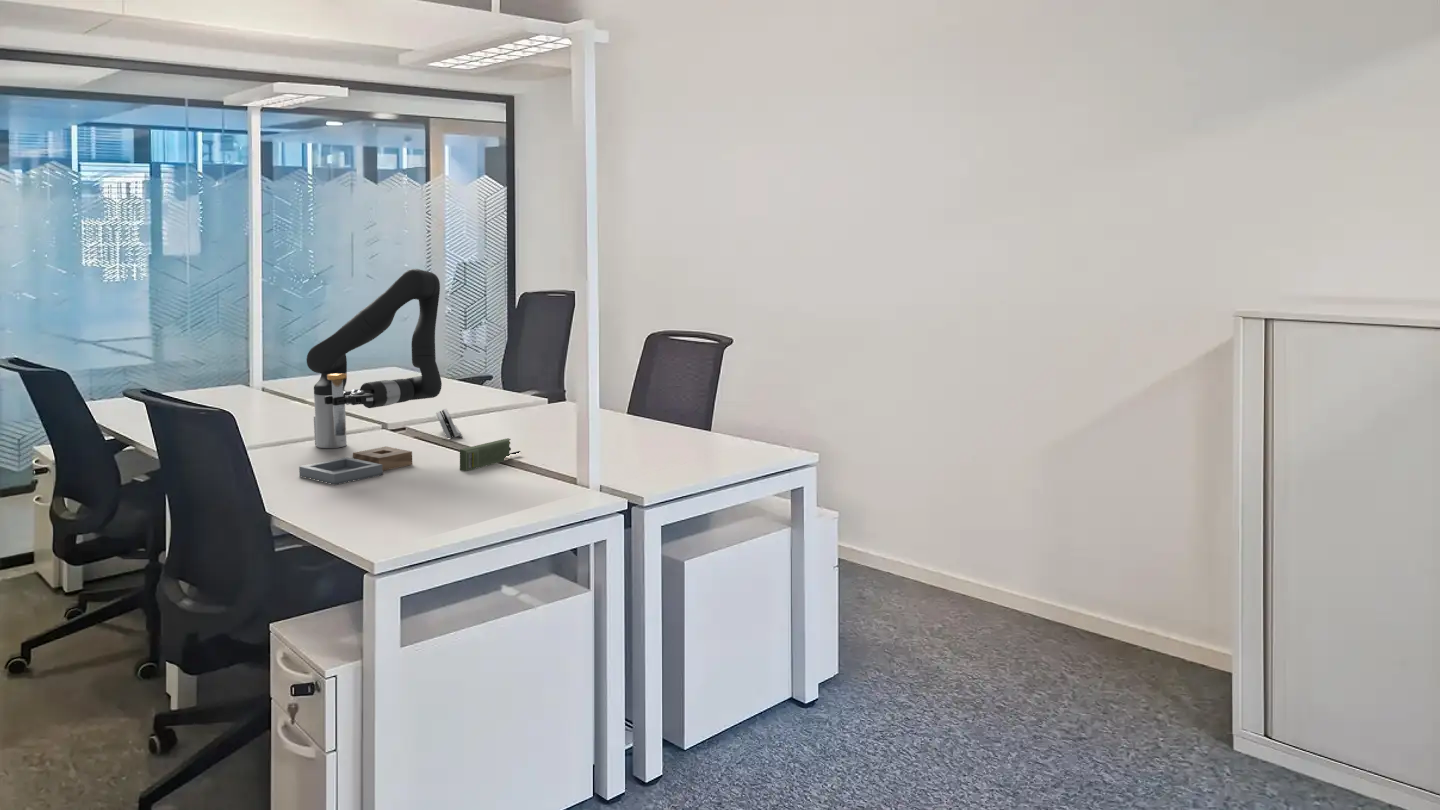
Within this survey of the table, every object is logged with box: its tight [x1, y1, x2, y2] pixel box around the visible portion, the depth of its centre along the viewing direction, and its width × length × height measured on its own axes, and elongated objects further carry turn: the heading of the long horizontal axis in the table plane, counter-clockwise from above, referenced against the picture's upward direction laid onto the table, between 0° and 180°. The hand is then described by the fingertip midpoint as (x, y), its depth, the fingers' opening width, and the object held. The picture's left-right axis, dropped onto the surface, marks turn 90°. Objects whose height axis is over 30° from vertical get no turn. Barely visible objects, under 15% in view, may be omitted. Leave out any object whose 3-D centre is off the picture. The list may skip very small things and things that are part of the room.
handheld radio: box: [459, 438, 521, 472], centre depth 324 cm, size 7×3×25 cm
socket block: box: [352, 446, 413, 472], centre depth 319 cm, size 12×12×4 cm
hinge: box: [435, 408, 463, 439], centre depth 367 cm, size 17×5×10 cm, turn 20°
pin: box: [327, 373, 348, 436], centre depth 302 cm, size 5×5×17 cm
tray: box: [298, 456, 384, 485], centre depth 305 cm, size 16×16×3 cm
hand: (329, 401), depth 300 cm, fingers closed on pin, 3 cm apart
